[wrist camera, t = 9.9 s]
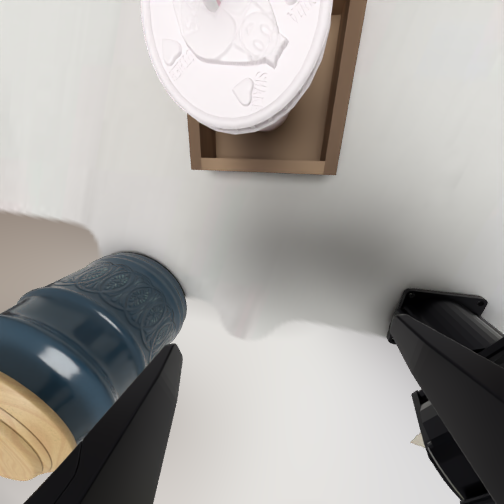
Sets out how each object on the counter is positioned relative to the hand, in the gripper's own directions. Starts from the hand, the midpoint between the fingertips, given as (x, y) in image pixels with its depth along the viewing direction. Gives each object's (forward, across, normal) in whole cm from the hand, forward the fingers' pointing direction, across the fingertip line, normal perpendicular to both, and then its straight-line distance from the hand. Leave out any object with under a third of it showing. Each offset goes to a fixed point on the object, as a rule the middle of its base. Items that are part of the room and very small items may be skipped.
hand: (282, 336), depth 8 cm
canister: (+15, +16, +8) cm, 24 cm away
